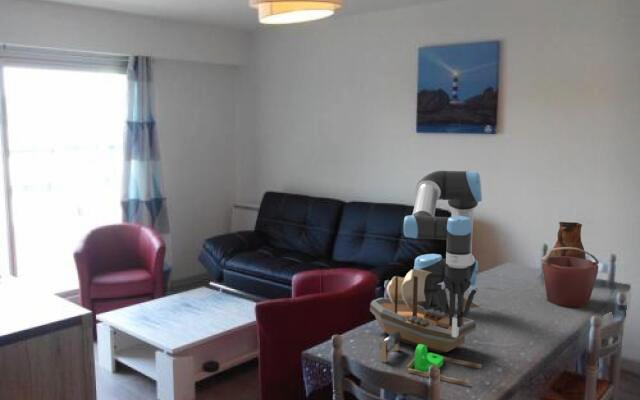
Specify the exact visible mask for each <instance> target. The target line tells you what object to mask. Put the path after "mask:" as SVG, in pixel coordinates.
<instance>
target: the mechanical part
mask: <svg viewBox="0 0 640 400" xmlns="http://www.w3.org/2000/svg"><path fill="white" fill-rule="evenodd" d="M427 353H428V354H427ZM442 356H443V355H440V354H439V353H435V352H428V349H427V346H426V345H422V344H418V346H415V351H414V358H415V365H414V366H413V367H414V370H419V371H423V372H428V371H429V367H430V366H431V365H436V366H438V367H439V369H440V368H441V367H442V366H443V365H444V361H443V357H444V356H443V357H442Z"/></svg>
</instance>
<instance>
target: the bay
mask: <svg viewBox="0 0 640 400" xmlns="http://www.w3.org/2000/svg"><path fill="white" fill-rule="evenodd" d="M428 353H429V352H427V354H428ZM441 356H442V357H443V362H447V363H452V364H457V365H460V366H461V365H462V366H465V367H470V368H476V369H480V370H481V369H482V364H481V363H475V362H471V361H466V360H462V359H458V358H457V359H456V358H451V357H447V356H443V355H441ZM414 365H415V357H413V359H412V360H410V362H408V364H407V365H406V366H405V369H406V371H407V374H409V373H410V374H413V375H417V376H421V377H424V378H426V377H427V378H429V377H428V372H423V371H419V370H414V369H413V367H414ZM439 375H440V380H439V381H444V382H448V383H453V384H457V385H461V386H466V387H470V383H471V382H470V381H467V380H463V379H457V378H453V377H450V376H446V375H445V376H444V375H441V374H439Z"/></svg>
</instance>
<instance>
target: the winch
mask: <svg viewBox="0 0 640 400" xmlns="http://www.w3.org/2000/svg"><path fill="white" fill-rule="evenodd" d="M401 339H402V337H401V334H400V331H396V330H395V331H394V332H393V333H392V334H391V335H389V334H388V336H387V337H385V338H384V340H383V341H381V342H380V343H379V350H380V351H381V352H380V353H381V354H380V355H381V357H380V362H381V363H387V362H388V357H389V356H388V354H389V352H391V351H392V350H393V351H394V352H399V351H400V342H401Z"/></svg>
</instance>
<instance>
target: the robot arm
mask: <svg viewBox="0 0 640 400" xmlns="http://www.w3.org/2000/svg"><path fill="white" fill-rule="evenodd" d="M482 193H483V192H482V181H481V175H480V174H479V172H478V171H470V170H465V171H464V170H463V171H462V170H460V171H459V170H435V171H433V172H431V173H428V174H426V175H425V176H423V177H422V178H421V179H420V180H419V181H418V182H417V185H416V187H415V196H416V198H415V202H414V207H413V211H412V214H410V215H406V216H404V219H403V236H404V237H405V238H412V239H429V240H431V239H432V240H446V251H445V253H446V254H445V258H443V256H442V255H441V254H437V253H426V254H420V255H419V256H417V257H416V258H414V266H413V269H419V270H423V271H428V272H432V273H430V274H428V275H427V276H426V279H425V285H424V295H425V299H426V301H418V302H417V305H419V306H421V307H423V308H424V309H425V310H430V309H434V311H438V310H439V311H440V312H444V313H445V315H448V316H449V325H450V326H452V337H457V336H458V335H459V327H461V326H462V317H464V318H466V317H468V315H469V314H470V310H471V308H470V307H471V304H472V303H473V301H474V297H475V295H476V293H477V292H478V288H477V287H475V285H476V281H477V278H478V270H479V261H478V260H476V259H475V256H474V255H473V254H472V251H473V250H472V249H473V229H474V227H473V226H474V209H475V208H476V207H477V206H478V204H479V202H482V200H483V197H482ZM440 200H441V201H447V204H448V206H449V207H450V208H451V214H450V215H451V216H449V217H448V216H435V214H436V207H437V202H438V201H440ZM446 289H447V290H448V292H449V294H448V295H449V299H448V296H447V291H446ZM467 290H468V293H469V294H468V296H467V298H466V299H467V303H466V306H465V308H464V312H463V298H465V297H464V296H465V293H466V292H467ZM456 295H457V296H456ZM456 297H457V304H456ZM448 300H449V301H448ZM412 303H413V302H412ZM456 305H457V308H456ZM456 311H457V312H456Z"/></svg>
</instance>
